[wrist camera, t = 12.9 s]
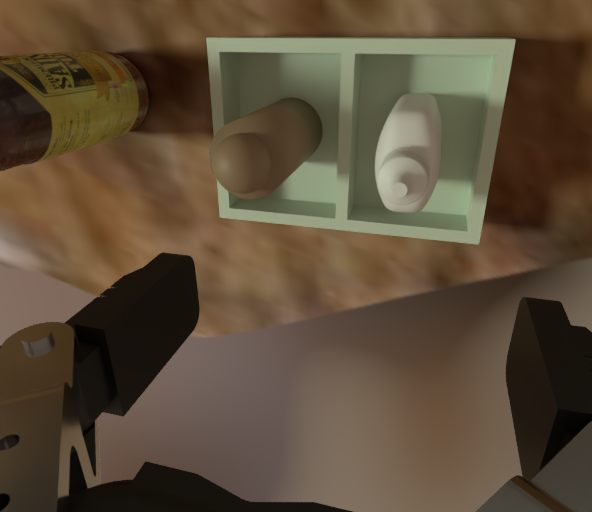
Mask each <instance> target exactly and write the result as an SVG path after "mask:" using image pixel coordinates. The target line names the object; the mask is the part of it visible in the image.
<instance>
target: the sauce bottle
mask: <svg viewBox="0 0 592 512" xmlns="http://www.w3.org/2000/svg"><path fill="white" fill-rule="evenodd" d="M148 107H149V94H148V88H147V84H146V82H145V80H144V78H143V76H142V74H141V73H140V71H139V70H138V69H137V68H136V67H135V66H134V65H133V64H132V63H131V62H130V61H128V60H127V59H125V58H124V57H123V56H120V55H117V54H115V53H110V52H102V51H95V50H93V51H78V52H61V53H42V54H26V55H12V56H0V171H4V170H6V169H10V168H12V167H15V166H19V165H22V164H32V163H35V162H39V161H42V160H45V159H48V158H52V157H55V156H58V155H61V154H64V153H67V152H71V151H74V150H77V149H81V148H84V147H87V146H91V145H94V144H97V143H100V142H103V141H106V140H109V139H113V138H116V137H119V136H122V135H124V134H126V133H127V132H128V131H130V130H132V129H134V128H136V127H138V126H139V125H140V124H141V123H142V122H143V121H144V118H145V117H146V115H147V110H148Z"/></svg>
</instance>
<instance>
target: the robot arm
mask: <svg viewBox="0 0 592 512" xmlns="http://www.w3.org/2000/svg"><path fill="white" fill-rule="evenodd" d="M198 318H199V299H198V291H197V282H196V273H195V265H194V261H193V259H192V257H190V256H187V255H179V254H171V253H161V254H159V255H158V256H157V257H155V258H154V259H153V260H152V261H151V262H149V263H148V264H147V265H146V266H144V267H143V268H141V269H139V270H136V271H134V272H132V273H130V274H127V275H125V276H123V277H122V278H121V279H119V280H118V281H117V282H116V283H114V284H113V285H112V286H111V288H110V289H107V290H106V291H104V292H103V293H102V294H100V297H97V298H95V299H94V300H93V301H92V302H91V303H89V304H88V305H87V306H86V307H84V308H83V309H82V310H80V311H79V312H78V313H77V314H75V315H74V316H73V317H71V318H70V319H69V320H68V321H66V322H65V323H60V322H46V323H40V324H36V325H33V326H30V327H27V328H24V329H22V330H20V331H18V332H17V333H15V334H13V335H11V336H10V337H9V338H8V339H7V340H6V341H5V342H4V343H3V344H2V346H0V512H352V511H348V510H343V509H339V508H335V507H331V506H327V505H323V504H319V503H315V502H249V501H245V500H243V499H241V498H239V497H238V496H236V495H234V494H232V493H230V492H228V491H227V490H225V489H223V488H221V487H220V486H218V485H216V484H214V483H212V482H211V481H209V480H207V479H205V478H203V477H202V476H200V475H198V474H195V473H191V472H186V471H183V470H179V469H174V468H170V467H166V466H162V465H158V464H154V463H150V462H145V463H144V465H143V466H142V467H141V469H140V470H139V472H138V473H137V475H136V476H135V478H134V479H133V480H122V481H114V482H109V483H105V484H101V475H100V448H99V447H100V446H99V428H98V423H97V418H98V417H99V415H100V414H101V413H102V412H105V413H110V414H115V415H119V416H124V415H125V414H126V412H127V411H128V410H129V409H130V408H131V407H132V405H133V404H134V403H135V402H136V400H137V399H138V398H139V397H140V396H141V394H142V393H143V392H144V391H145V389H146V388H147V387H148V386H149V384H150V383H151V382H152V381H153V379H154V378H155V377H156V376H157V374H158V373H159V372H160V371H161V370H162V368H163V367H164V366H165V365H166V363H167V362H168V361H169V360H170V359H171V357H172V356H173V355H174V354H175V352H176V351H177V350H178V349H179V348H180V346H181V345H182V344H183V343H184V341H185V340H186V339H187V338H188V336H189V335H190V334H191V333H192V332H193V330H194V329H195V327H196V324H197V322H198ZM506 383H507V388H508V395H509V400H510V406H511V412H512V417H513V424H514V429H515V435H516V441H517V447H518V452H519V458H520V464H521V470H522V475H523V477H521V476H515V477H513V478H512V479H510V480H509V481H508V482H506V483H505V484H504V485H503V486H502V487H501V488H500V489H499V490H498V491H497V492H496V493H495V494H494V495H493V496H492V497H491V498H489V499H488V500H487V501H486V502H485V503H484V504H483V505H482V506H481V507H480V508H479V509H478V510H477V511H476V512H592V332H591V331H589V330H588V329H587V328H586V327H580V326H572V325H571V324H570V322H569V320H568V317H567V315H566V312H565V310H564V308H563V305H562V303H561V302H559V301H553V300H543V299H536V298H528V297H523V298H522V299H521V301H520V303H519V307H518V311H517V316H516V320H515V324H514V329H513V333H512V337H511V342H510V346H509V350H508V355H507V363H506Z"/></svg>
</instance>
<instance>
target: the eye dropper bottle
mask: <svg viewBox="0 0 592 512" xmlns="http://www.w3.org/2000/svg"><path fill="white" fill-rule="evenodd" d="M441 142H442V123H441V116H440V111H439V107H438V104H437V101H436V99H435V98H434V96H433V95H430V94H405V95H402V96H401V97H400V98H399V100H398V101H397V103H396V104H395V106H394V108H393V109H392V111H391V113H390V115H389V116H388V118H387V120H386V122H385V124H384V127H383V129H382V132H381V135H380V138H379V141H378V145H377V150H376V156H375V177H376V183H377V188H378V191H379V194H380V197H381V199H382V202H383V203H384V205H385V207H386V208H387V209H388V210H391V211H394V212H404V213H415V212H419V211H421V210H422V209H423V208H424V207H425V206H426V204H427V203H428V201H429V199H430V197H431V195H432V193H433V191H434V189H435V186H436V183H437V179H438V175H439V170H440V162H441Z"/></svg>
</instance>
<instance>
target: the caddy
mask: <svg viewBox="0 0 592 512" xmlns="http://www.w3.org/2000/svg"><path fill="white" fill-rule="evenodd" d="M206 39H207V53H208V66H209V79H210V92H211V106H212V119H213V132H214V138H213V140H212V143H211V147H210V164H211V168H212V171H213V173H214V175H215V177H216V179H217V185H218V199H219V212H220V218H230V219H239V220H249V221H258V222H268V223H278V224H287V225H297V226H306V227H316V228H326V229H335V230H345V231H354V232H364V233H374V234H383V235H393V236H402V237H412V238H422V239H431V240H441V241H450V242H460V243H470V244H479V241H480V236H481V230H482V225H483V219H484V214H485V208H486V202H487V197H488V191H489V186H490V180H491V175H492V169H493V164H494V158H495V152H496V147H497V141H498V136H499V130H500V125H501V119H502V113H503V108H504V102H505V97H506V91H507V86H508V80H509V75H510V69H511V63H512V58H513V52H514V47H515V41H516V39H512V38H472V37H213V38H206ZM405 94H430V95H433V96H434V98H435V99H436V101H437V104H438V107H439V111H440V116H441V123H442V142H441V162H440V170H439V175H438V179H437V183H436V186H435V189H434V191H433V193H432V195H431V197H430V199H429V201H428V203H427V204H426V206H425V207H424V208H423V209H422V210H421V211H419V212H415V213H404V212H394V211H391V210H388V209H387V208H386V207H385V205H384V203H383V202H382V199H381V197H380V194H379V191H378V188H377V183H376V177H375V156H376V150H377V145H378V141H379V138H380V135H381V132H382V129H383V127H384V124H385V122H386V120H387V118H388V116H389V115H390V113H391V111H392V109H393V108H394V106H395V104H396V103H397V101H398V100H399V98H400V97H401V96H402V95H405Z"/></svg>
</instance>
